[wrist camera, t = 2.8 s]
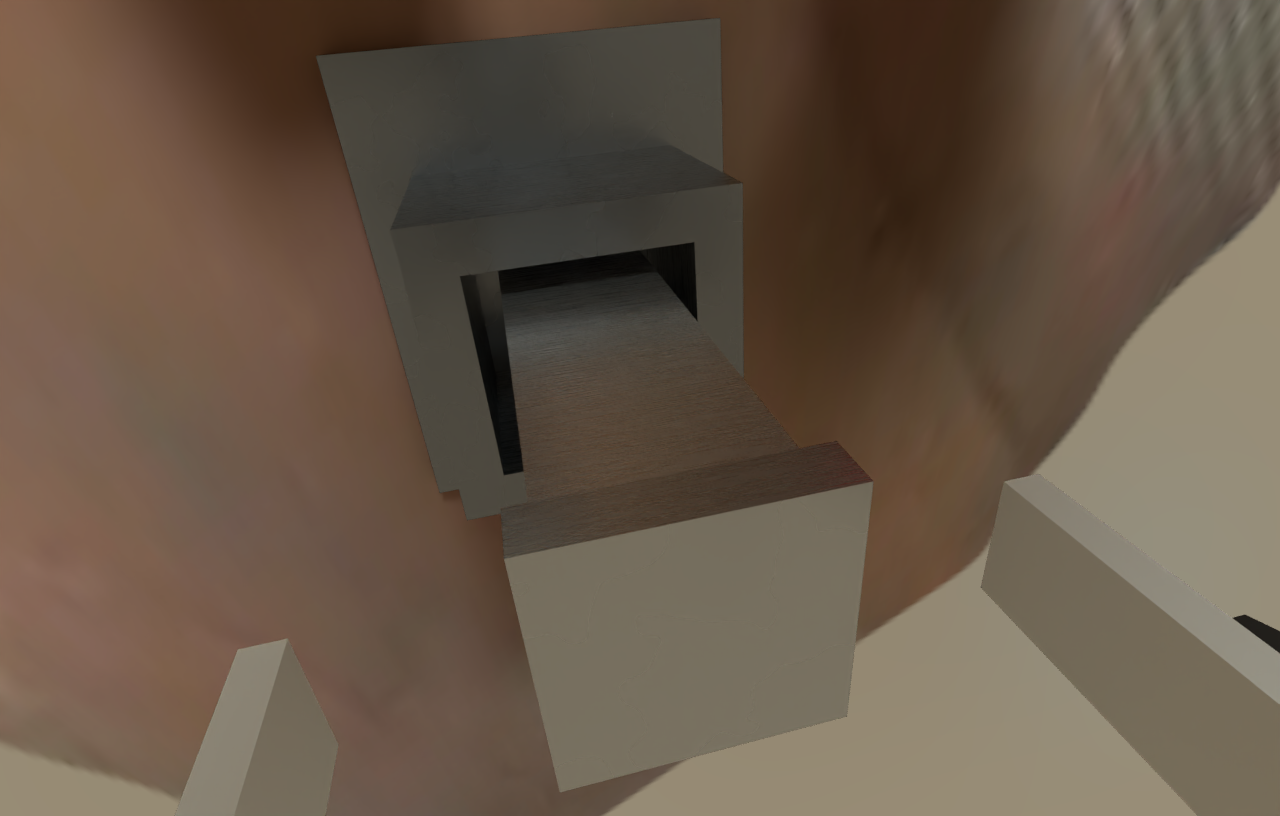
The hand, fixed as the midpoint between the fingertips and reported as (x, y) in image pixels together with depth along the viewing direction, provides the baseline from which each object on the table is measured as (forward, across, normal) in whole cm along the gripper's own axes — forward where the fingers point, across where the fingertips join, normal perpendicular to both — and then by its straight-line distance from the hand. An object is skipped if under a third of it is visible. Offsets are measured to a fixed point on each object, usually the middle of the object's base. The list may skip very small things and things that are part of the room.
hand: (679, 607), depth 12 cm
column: (+18, 0, 0) cm, 18 cm away
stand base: (+19, 0, 0) cm, 19 cm away
